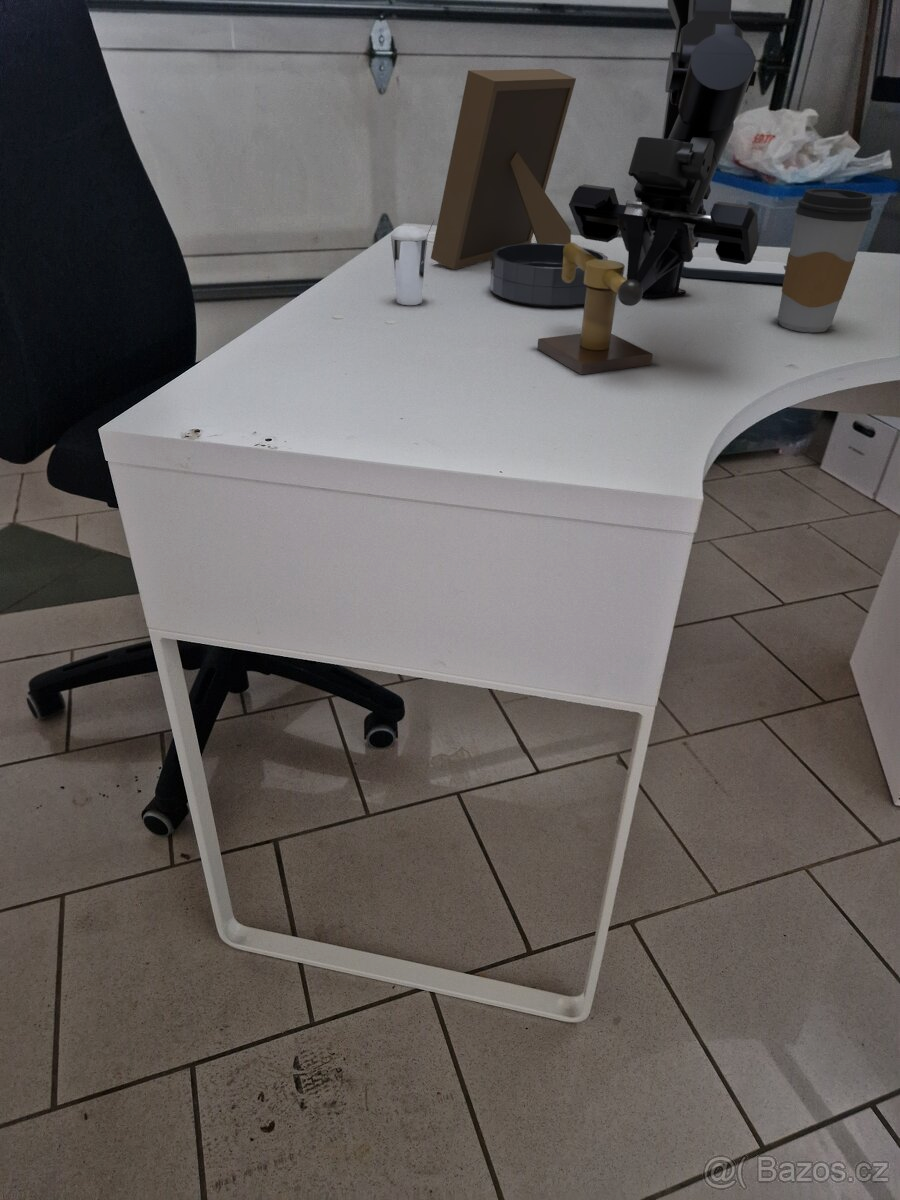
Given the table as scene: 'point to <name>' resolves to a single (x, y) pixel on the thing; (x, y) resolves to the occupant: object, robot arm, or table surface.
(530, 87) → the photo frame
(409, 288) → the milkshake
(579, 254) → the faucet
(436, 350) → the table surface
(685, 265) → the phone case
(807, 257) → the coffee cup
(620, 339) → the faucet base
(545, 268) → the basin
